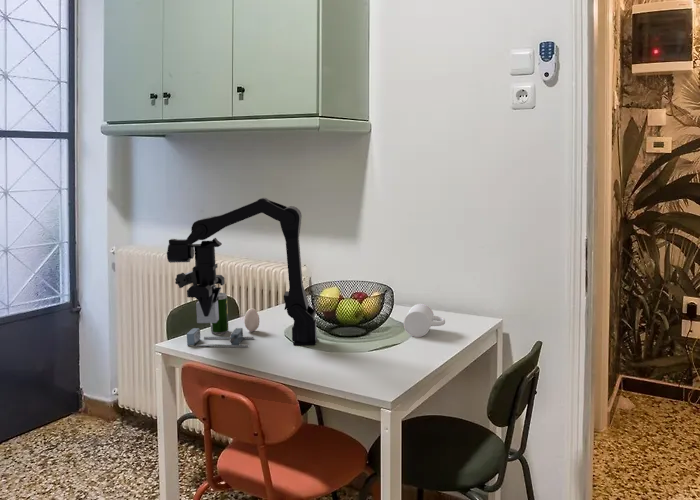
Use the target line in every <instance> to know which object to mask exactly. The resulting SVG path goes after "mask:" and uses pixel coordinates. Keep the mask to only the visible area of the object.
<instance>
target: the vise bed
mask: <svg viewBox="0 0 700 500" xmlns="http://www.w3.org/2000/svg"><path fill="white" fill-rule="evenodd" d="M200 339H201V329H200V328H199V327H197V328H196V327H193V328H191V329H190V330H189V331H188V332H187V333H186V344H187V345H194V346H196V348H198V347H197V346H214V347H213V348H216V347H215V346H219V347H218V348H249V344H239V345H231V344H213V343H212V344H207V343H206V344H203V343H201V344H200V343H199V344H198V342H200V341H201V340H200ZM203 339H204V340H231V336H203ZM254 339H255V337H254V336H243V340H254ZM187 345H186V346H187ZM220 346H221V347H220Z"/></svg>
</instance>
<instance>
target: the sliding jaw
mask: <svg viewBox="0 0 700 500" xmlns="http://www.w3.org/2000/svg"><path fill="white" fill-rule="evenodd" d="M243 330H244V329H243V327H242V328H241V327H240V328H238V327H237V328H235V329H233V331H232V332H231V333H230V336H229V337H231V339H229V342H230V345H241V342H242V341H243V340H244V339H243V337H244V331H243Z"/></svg>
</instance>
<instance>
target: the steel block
mask: <svg viewBox="0 0 700 500" xmlns="http://www.w3.org/2000/svg"><path fill="white" fill-rule="evenodd" d="M195 306H196V307H195V308H196V310H195V311H196V323H197V324H211V323H216V322H217V321H218V320H219V311H218V300H213V302H212V305H211V309H210V312H209V315H208V316H207V317H205V316H204V314H203V311H202V308H201V306H200V303H199V301H198V300H197V302H196V303H195Z"/></svg>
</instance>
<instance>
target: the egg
mask: <svg viewBox="0 0 700 500" xmlns="http://www.w3.org/2000/svg"><path fill="white" fill-rule="evenodd" d="M243 319H244V322H243V323H244V326H245V328H246V330H247V331H249V332H250V333H252V332H255V331H257V329H258V328H259V326H260V315H259V314H258V312H257V310H256V309H255V308H253V307H252V308H249V309H248V310H247V311H246V312H245V315H244V318H243Z"/></svg>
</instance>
